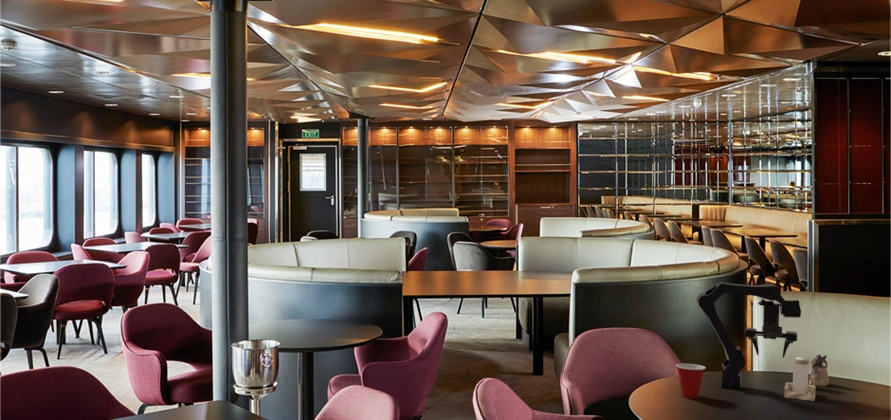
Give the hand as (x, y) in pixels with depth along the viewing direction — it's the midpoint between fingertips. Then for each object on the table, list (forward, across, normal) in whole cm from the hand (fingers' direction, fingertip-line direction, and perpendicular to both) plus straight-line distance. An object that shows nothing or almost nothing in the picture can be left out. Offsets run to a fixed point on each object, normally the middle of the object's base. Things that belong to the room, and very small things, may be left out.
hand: (770, 356), depth 299 cm
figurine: (+14, +17, +18) cm, 28 cm away
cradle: (+13, +11, +2) cm, 17 cm away
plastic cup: (+13, -26, -25) cm, 38 cm away
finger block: (+12, +11, -4) cm, 17 cm away
